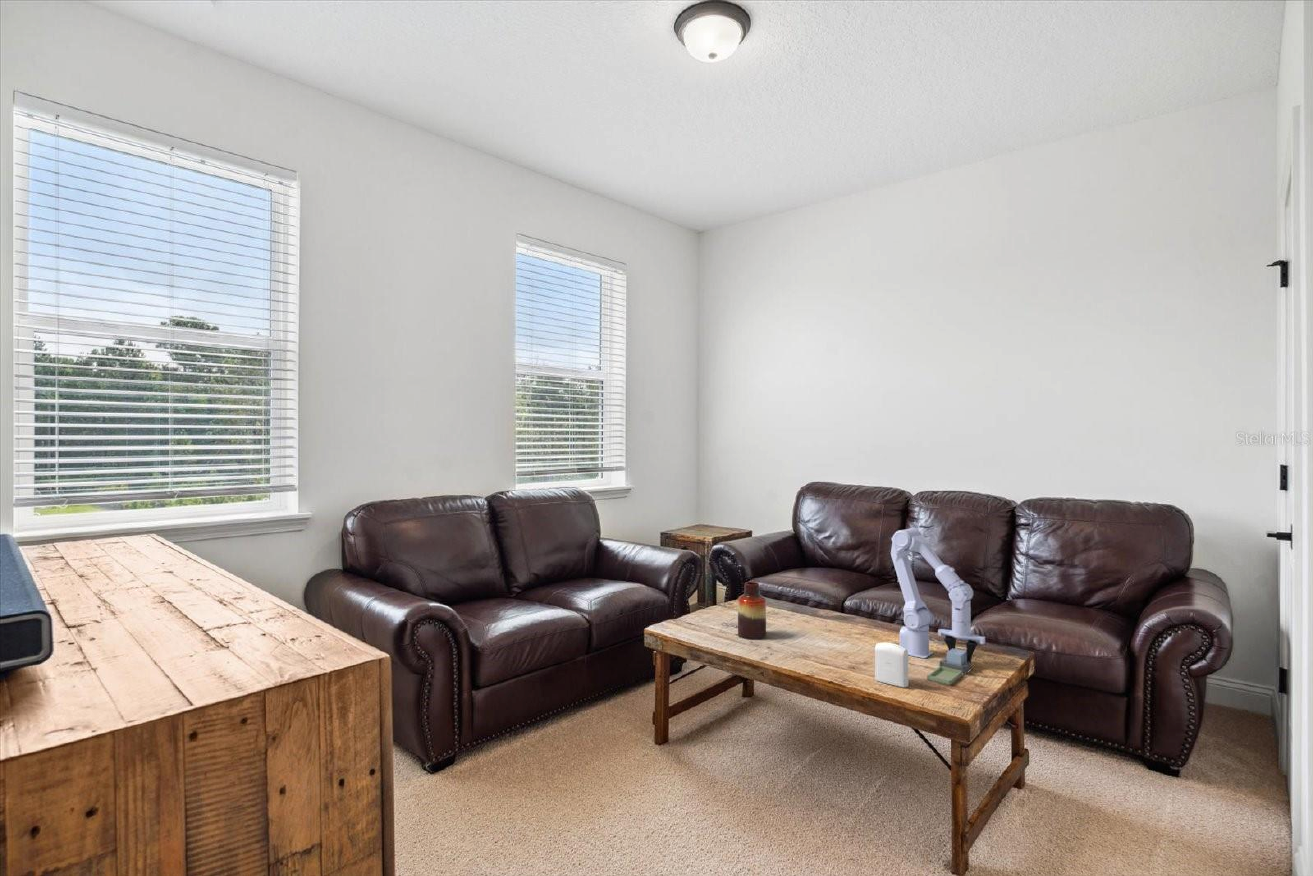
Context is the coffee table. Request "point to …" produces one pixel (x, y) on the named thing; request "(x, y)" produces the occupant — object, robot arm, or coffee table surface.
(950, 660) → the stepped two-tone block
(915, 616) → the robot arm
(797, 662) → the coffee table surface
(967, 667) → the bay
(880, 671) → the photo printer
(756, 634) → the vase
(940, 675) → the tray
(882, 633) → the coffee table surface
